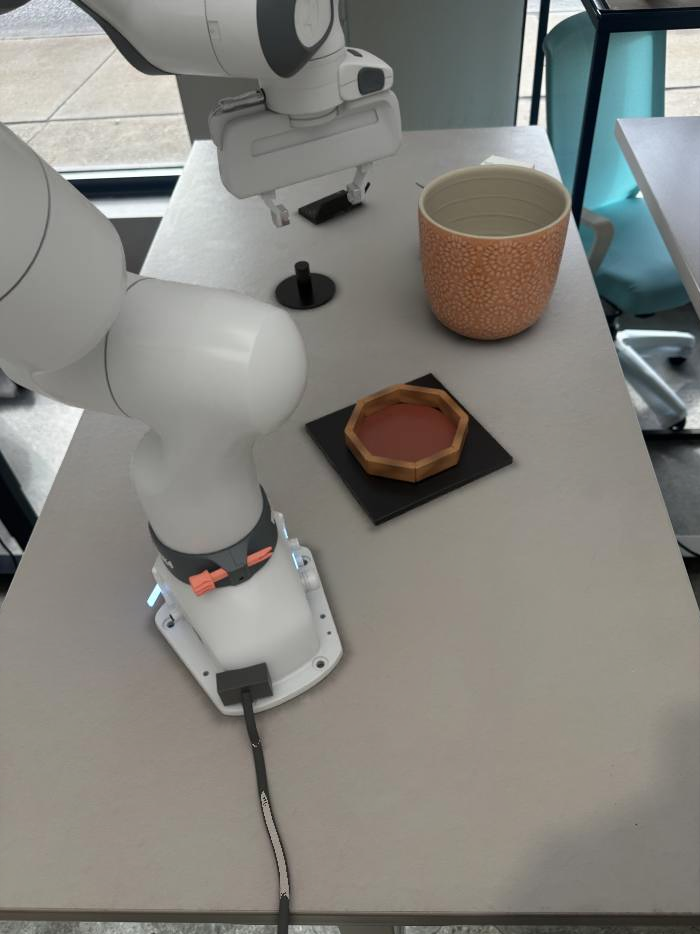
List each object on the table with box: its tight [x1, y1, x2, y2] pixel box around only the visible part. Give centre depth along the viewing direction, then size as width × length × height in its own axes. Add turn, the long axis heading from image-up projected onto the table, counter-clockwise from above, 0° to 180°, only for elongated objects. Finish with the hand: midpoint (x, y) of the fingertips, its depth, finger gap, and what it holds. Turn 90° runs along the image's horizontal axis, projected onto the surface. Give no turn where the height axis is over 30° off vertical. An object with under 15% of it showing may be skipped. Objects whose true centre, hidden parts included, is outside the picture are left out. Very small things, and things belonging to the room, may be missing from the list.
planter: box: [417, 164, 573, 341], centre depth 107 cm, size 21×21×19 cm
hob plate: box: [304, 372, 514, 526], centre depth 96 cm, size 20×20×1 cm
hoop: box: [344, 383, 469, 482], centre depth 95 cm, size 15×15×2 cm
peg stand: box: [274, 260, 337, 310], centre depth 119 cm, size 10×10×5 cm
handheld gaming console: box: [297, 181, 371, 225], centre depth 135 cm, size 12×7×10 cm
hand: (319, 212), depth 83 cm, fingers open, 8 cm apart
